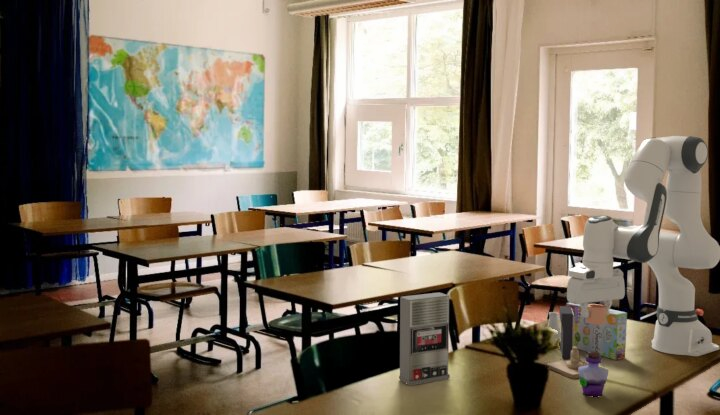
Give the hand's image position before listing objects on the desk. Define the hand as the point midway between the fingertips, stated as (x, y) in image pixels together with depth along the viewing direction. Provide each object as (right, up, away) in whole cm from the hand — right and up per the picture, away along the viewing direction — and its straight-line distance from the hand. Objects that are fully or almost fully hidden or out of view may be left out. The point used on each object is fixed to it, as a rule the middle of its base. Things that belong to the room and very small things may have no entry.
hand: (595, 316), depth 229 cm
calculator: (-3, -16, +21) cm, 27 cm away
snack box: (+7, -16, +25) cm, 31 cm away
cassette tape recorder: (-52, -18, -4) cm, 55 cm away
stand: (-5, -17, +5) cm, 19 cm away
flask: (-3, -14, +38) cm, 41 cm away
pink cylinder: (0, -2, 0) cm, 2 cm away
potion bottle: (-6, -20, -16) cm, 26 cm away
